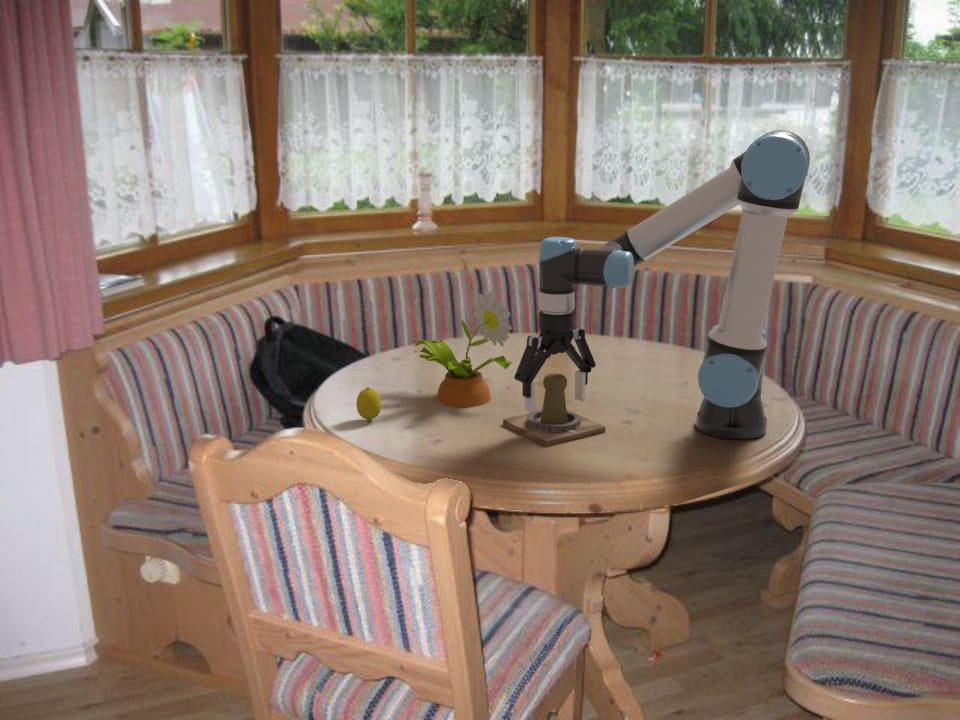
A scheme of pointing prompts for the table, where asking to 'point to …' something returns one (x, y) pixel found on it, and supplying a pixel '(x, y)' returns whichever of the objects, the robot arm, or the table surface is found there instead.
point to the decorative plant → (460, 379)
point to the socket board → (553, 428)
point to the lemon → (368, 403)
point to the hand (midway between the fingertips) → (555, 405)
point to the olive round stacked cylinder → (554, 400)
